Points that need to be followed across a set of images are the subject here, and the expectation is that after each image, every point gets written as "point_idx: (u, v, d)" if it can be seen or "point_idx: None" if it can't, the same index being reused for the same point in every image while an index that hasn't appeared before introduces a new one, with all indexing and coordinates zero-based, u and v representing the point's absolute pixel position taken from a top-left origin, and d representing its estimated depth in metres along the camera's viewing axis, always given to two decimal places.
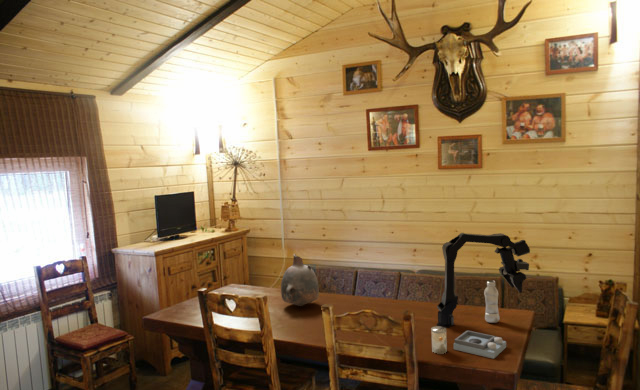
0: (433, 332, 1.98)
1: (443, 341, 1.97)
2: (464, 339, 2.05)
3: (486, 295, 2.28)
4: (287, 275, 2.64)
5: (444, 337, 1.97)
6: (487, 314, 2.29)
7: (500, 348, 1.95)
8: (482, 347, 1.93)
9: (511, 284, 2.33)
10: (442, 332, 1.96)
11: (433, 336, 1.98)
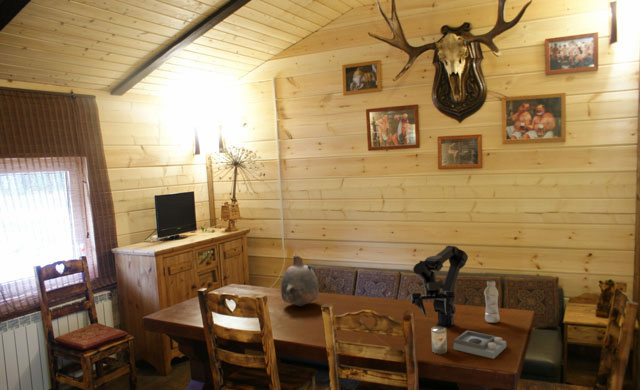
0: (433, 332, 1.98)
1: (443, 341, 1.97)
2: (464, 339, 2.05)
3: (486, 295, 2.28)
4: (287, 275, 2.64)
5: (444, 337, 1.97)
6: (487, 314, 2.29)
7: (500, 348, 1.95)
8: (482, 347, 1.93)
9: (445, 311, 2.07)
10: (442, 332, 1.96)
11: (433, 336, 1.98)
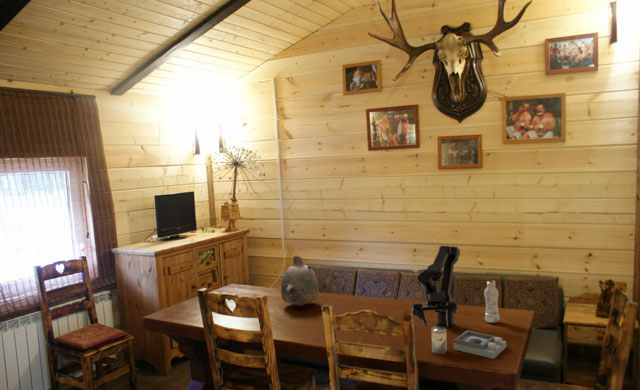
0: (433, 332, 1.98)
1: (443, 341, 1.97)
2: (464, 339, 2.05)
3: (486, 295, 2.28)
4: (287, 275, 2.64)
5: (444, 337, 1.97)
6: (487, 314, 2.29)
7: (500, 348, 1.95)
8: (482, 347, 1.93)
9: (447, 323, 2.03)
10: (442, 332, 1.96)
11: (433, 336, 1.98)
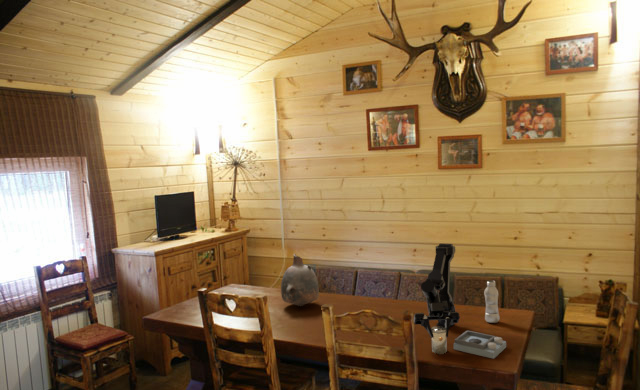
0: (433, 332, 1.98)
1: (443, 341, 1.97)
2: (464, 339, 2.05)
3: (486, 295, 2.28)
4: (287, 275, 2.64)
5: (444, 337, 1.97)
6: (487, 314, 2.29)
7: (500, 348, 1.95)
8: (482, 347, 1.93)
9: (446, 333, 1.99)
10: (442, 332, 1.96)
11: (433, 336, 1.98)
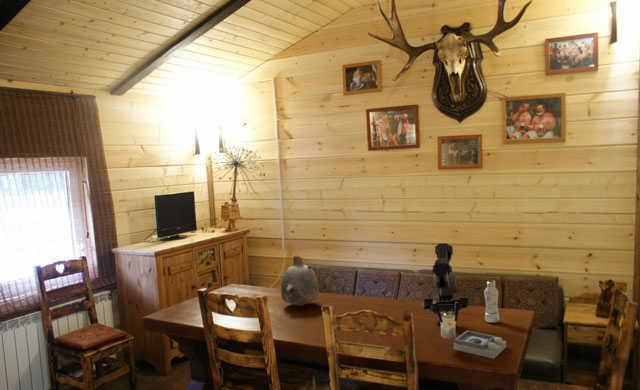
0: (442, 317, 1.98)
1: (452, 326, 1.97)
2: (464, 339, 2.05)
3: (486, 295, 2.28)
4: (287, 275, 2.64)
5: (453, 322, 1.97)
6: (487, 314, 2.29)
7: (500, 348, 1.95)
8: (482, 347, 1.93)
9: (455, 318, 1.99)
10: (451, 317, 1.96)
11: (442, 321, 1.98)
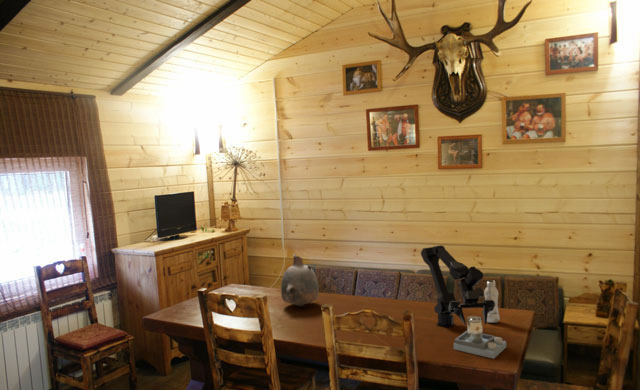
0: (469, 321, 2.00)
1: (479, 330, 1.99)
2: (464, 339, 2.05)
3: (486, 295, 2.28)
4: (287, 275, 2.64)
5: (480, 326, 1.99)
6: None
7: (500, 348, 1.95)
8: (482, 347, 1.93)
9: (484, 320, 2.01)
10: (478, 321, 1.98)
11: (469, 325, 2.00)
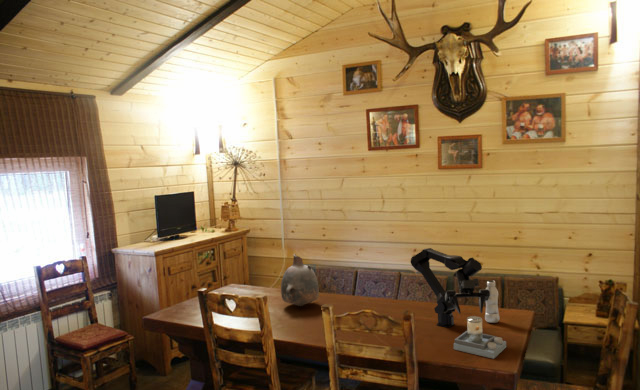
0: (469, 322, 2.00)
1: (479, 330, 1.99)
2: (464, 339, 2.05)
3: None
4: (287, 275, 2.64)
5: (480, 326, 1.99)
6: (487, 314, 2.29)
7: (500, 348, 1.95)
8: (482, 347, 1.93)
9: (480, 309, 2.07)
10: (478, 321, 1.98)
11: (469, 326, 2.00)
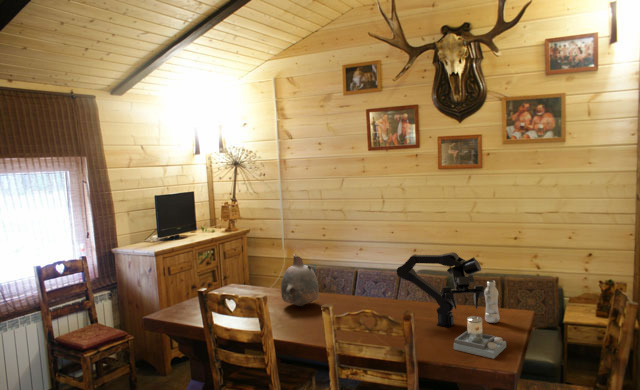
0: (469, 322, 2.00)
1: (479, 330, 1.99)
2: (464, 339, 2.05)
3: (486, 295, 2.28)
4: (287, 275, 2.64)
5: (480, 326, 1.99)
6: (487, 314, 2.29)
7: (500, 348, 1.95)
8: (482, 347, 1.93)
9: (475, 305, 2.14)
10: (478, 322, 1.98)
11: (469, 326, 2.00)
